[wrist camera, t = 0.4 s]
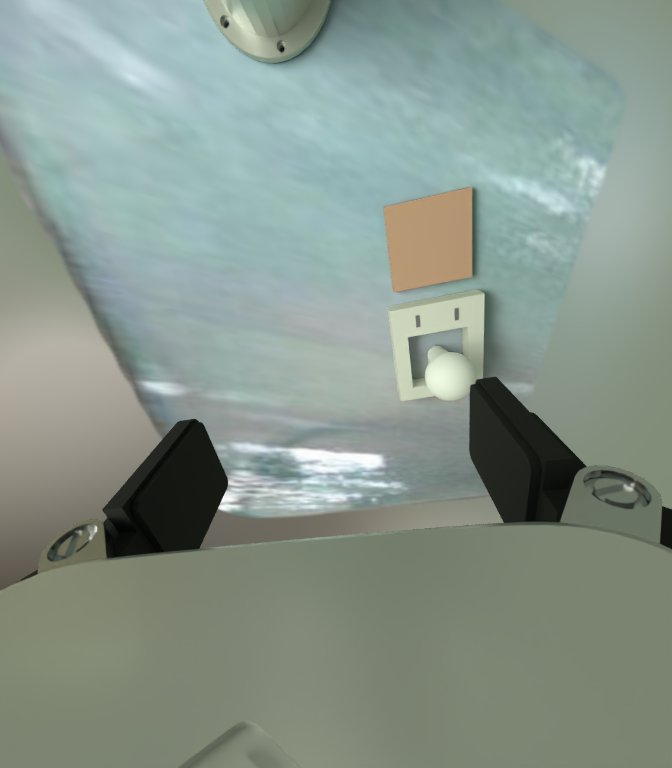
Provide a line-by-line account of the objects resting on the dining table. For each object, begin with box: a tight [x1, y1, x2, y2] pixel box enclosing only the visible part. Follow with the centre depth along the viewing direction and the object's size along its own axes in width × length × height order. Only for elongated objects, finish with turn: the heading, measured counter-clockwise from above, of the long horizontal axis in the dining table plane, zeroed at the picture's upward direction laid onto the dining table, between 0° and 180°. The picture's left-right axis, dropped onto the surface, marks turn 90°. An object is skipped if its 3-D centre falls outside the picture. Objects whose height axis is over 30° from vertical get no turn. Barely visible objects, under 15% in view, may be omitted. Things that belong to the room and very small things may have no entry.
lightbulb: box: [425, 346, 477, 401], centre depth 42 cm, size 6×6×11 cm
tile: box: [383, 187, 472, 292], centre depth 39 cm, size 10×10×1 cm
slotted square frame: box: [387, 289, 485, 401], centre depth 45 cm, size 14×12×3 cm
